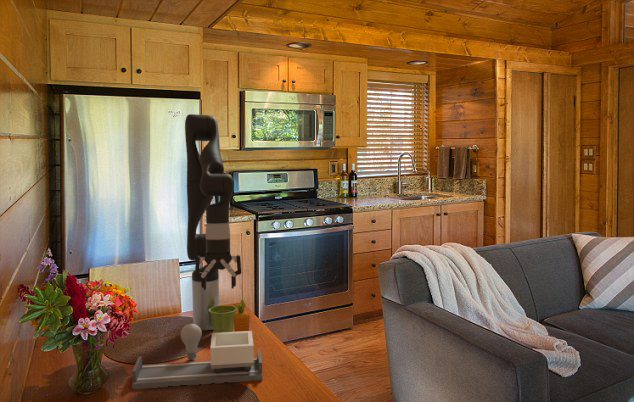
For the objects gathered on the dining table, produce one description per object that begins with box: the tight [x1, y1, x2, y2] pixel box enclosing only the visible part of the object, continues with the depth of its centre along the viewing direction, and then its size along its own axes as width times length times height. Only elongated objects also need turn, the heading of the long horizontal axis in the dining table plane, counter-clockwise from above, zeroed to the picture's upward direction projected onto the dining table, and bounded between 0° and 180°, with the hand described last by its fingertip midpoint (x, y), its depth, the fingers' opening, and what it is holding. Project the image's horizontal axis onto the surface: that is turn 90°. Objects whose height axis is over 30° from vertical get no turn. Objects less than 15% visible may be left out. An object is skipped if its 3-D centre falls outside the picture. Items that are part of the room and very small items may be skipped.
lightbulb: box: [180, 323, 203, 361], centre depth 153 cm, size 6×6×11 cm
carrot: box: [232, 299, 250, 332], centre depth 163 cm, size 5×5×15 cm
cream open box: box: [210, 330, 255, 374], centre depth 144 cm, size 11×11×8 cm
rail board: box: [131, 348, 263, 390], centre depth 143 cm, size 12×34×4 cm, turn 100°
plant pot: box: [209, 304, 238, 333], centre depth 175 cm, size 9×9×9 cm
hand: (218, 288), depth 162 cm, fingers open, 8 cm apart
